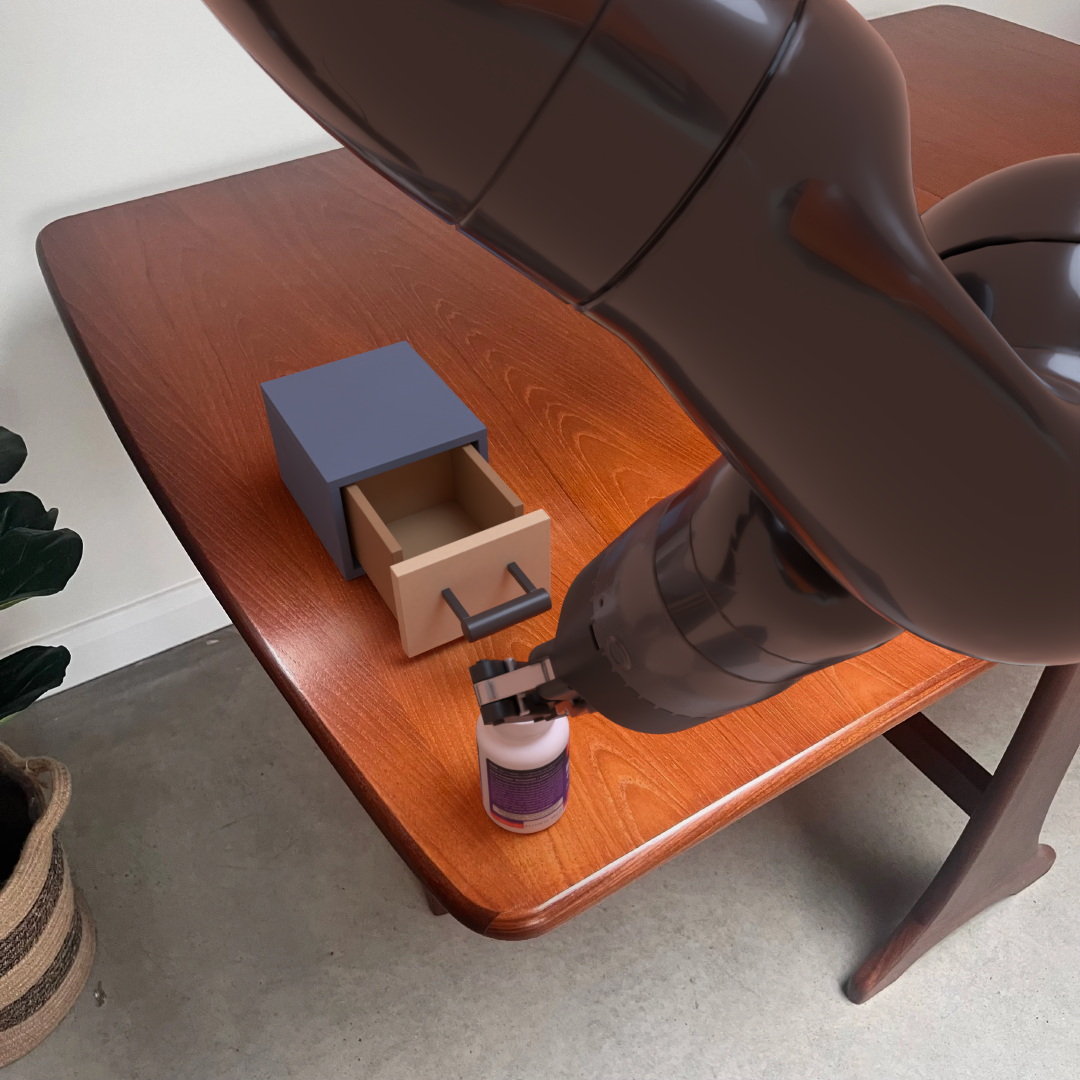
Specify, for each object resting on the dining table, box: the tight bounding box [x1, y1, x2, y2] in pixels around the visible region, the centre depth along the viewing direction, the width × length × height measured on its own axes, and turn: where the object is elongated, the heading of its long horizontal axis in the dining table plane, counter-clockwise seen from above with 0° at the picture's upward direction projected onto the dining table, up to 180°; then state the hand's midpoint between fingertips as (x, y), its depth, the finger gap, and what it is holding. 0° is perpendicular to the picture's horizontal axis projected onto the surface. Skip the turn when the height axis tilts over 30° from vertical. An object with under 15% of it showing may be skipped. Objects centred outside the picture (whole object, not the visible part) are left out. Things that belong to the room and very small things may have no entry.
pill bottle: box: [475, 712, 571, 834], centre depth 61 cm, size 5×5×10 cm
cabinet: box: [259, 340, 490, 582], centre depth 83 cm, size 15×13×10 cm
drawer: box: [339, 443, 553, 659], centre depth 74 cm, size 18×11×8 cm, turn 30°
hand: (551, 698), depth 52 cm, fingers closed
